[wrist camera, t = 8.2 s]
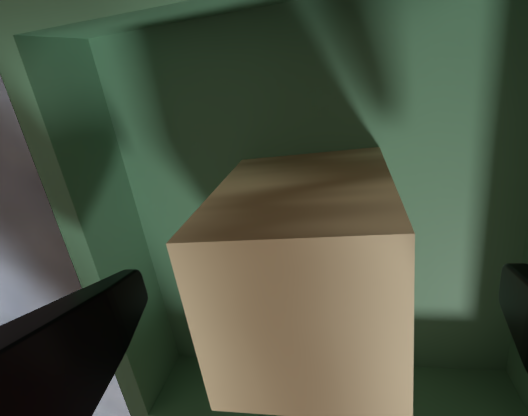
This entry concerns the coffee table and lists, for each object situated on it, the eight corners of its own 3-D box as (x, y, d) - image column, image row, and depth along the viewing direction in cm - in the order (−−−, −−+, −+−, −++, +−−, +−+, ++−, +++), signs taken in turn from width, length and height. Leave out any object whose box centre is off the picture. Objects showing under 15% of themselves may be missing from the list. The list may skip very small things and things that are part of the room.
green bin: (587, -84, 9) (747, -171, 6) (516, 367, 15) (573, 469, 11) (78, 18, 13) (-27, 4, 9) (176, 352, 18) (135, 427, 14)
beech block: (379, 146, 11) (414, 233, 6) (382, 269, 13) (413, 425, 8) (241, 159, 12) (165, 243, 7) (260, 272, 14) (211, 410, 9)
